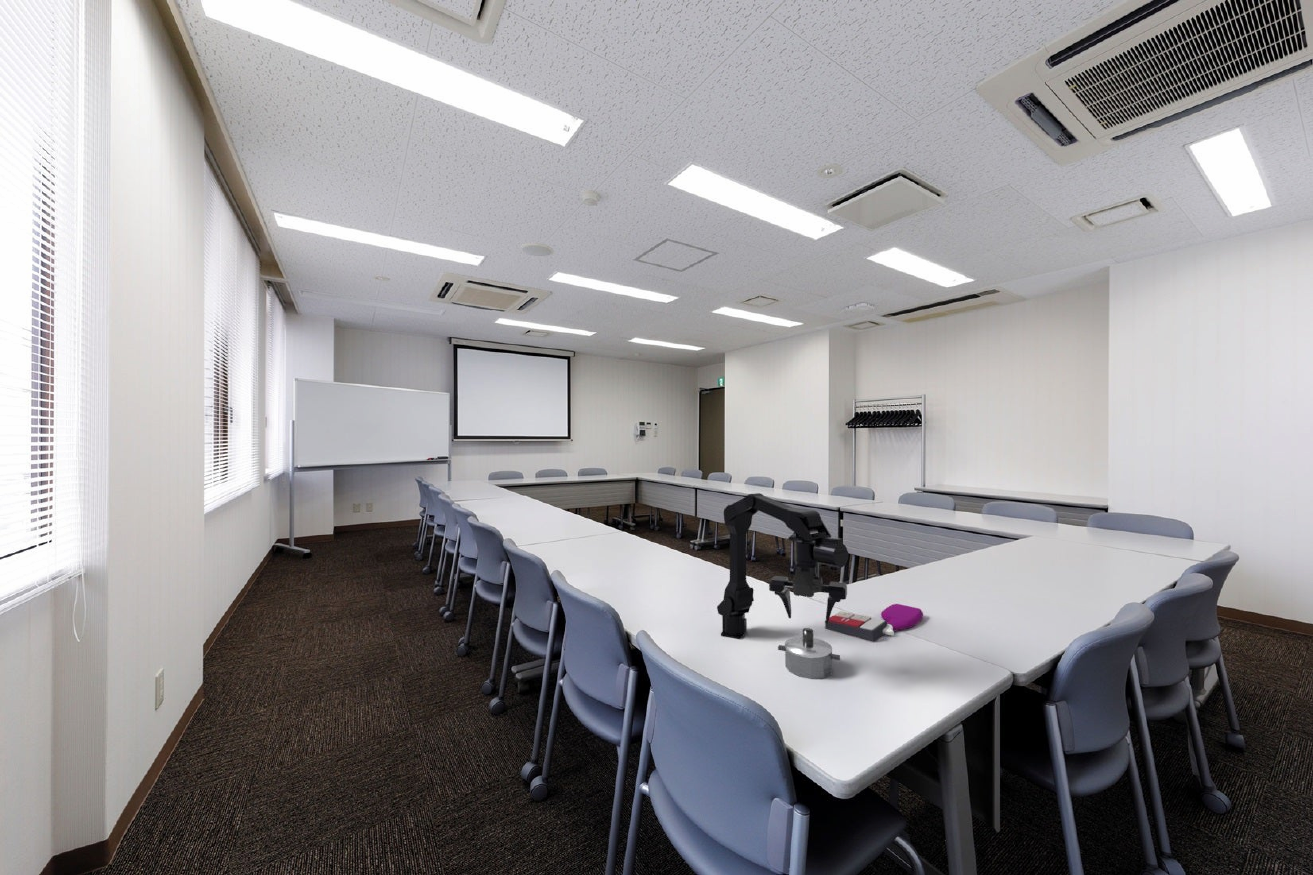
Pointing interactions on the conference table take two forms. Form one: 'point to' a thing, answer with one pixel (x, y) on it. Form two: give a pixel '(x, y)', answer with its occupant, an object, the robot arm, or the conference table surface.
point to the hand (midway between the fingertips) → (808, 620)
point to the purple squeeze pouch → (900, 617)
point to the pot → (808, 665)
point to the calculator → (857, 626)
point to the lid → (808, 646)
